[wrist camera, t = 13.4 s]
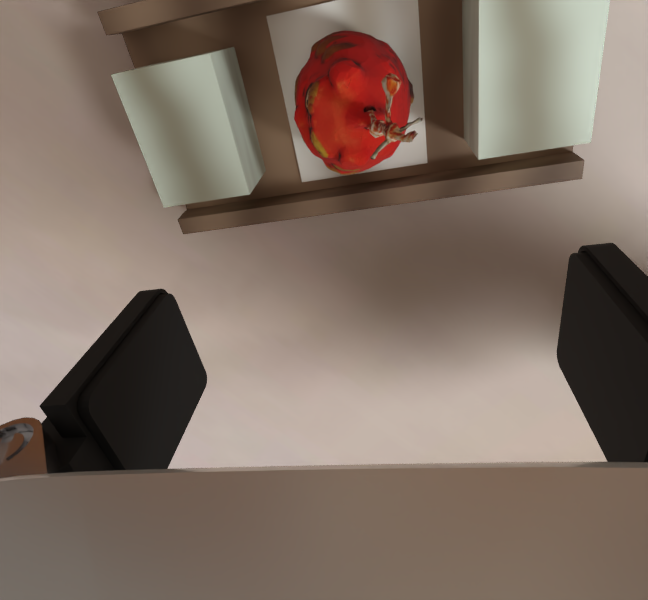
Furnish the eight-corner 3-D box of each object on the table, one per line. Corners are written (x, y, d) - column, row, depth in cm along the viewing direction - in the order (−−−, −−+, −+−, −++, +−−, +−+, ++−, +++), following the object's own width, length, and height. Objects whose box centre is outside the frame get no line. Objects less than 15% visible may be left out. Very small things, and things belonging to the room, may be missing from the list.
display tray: (590, -102, 24) (653, -134, 18) (562, 163, 31) (601, 195, 26) (125, 11, 29) (67, 12, 23) (198, 216, 36) (168, 252, 31)
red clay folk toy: (289, 43, 27) (217, 71, 15) (402, 12, 26) (428, 16, 14) (317, 163, 31) (280, 265, 19) (417, 142, 30) (448, 238, 17)
